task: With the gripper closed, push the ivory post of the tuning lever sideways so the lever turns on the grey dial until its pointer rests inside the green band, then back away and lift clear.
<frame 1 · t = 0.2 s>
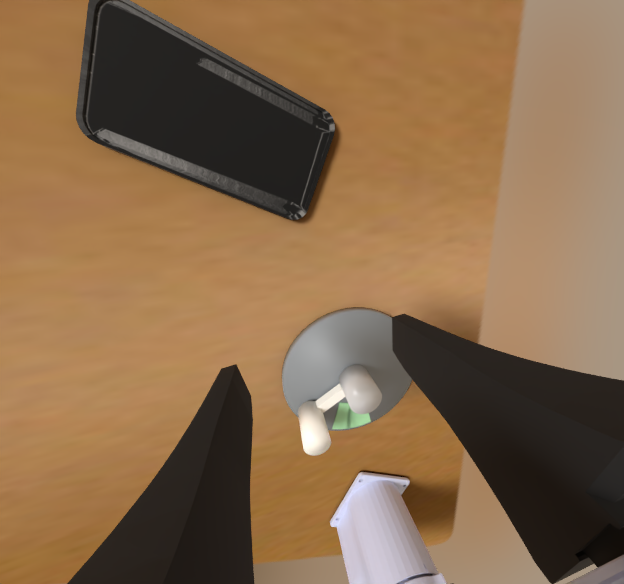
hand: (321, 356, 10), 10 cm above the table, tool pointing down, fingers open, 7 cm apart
dial plate: (349, 369, 24), on the table
tuning lever: (338, 407, 21), point 3 cm above the table, hinge at 0.0°
phone: (221, 131, 16), on the table
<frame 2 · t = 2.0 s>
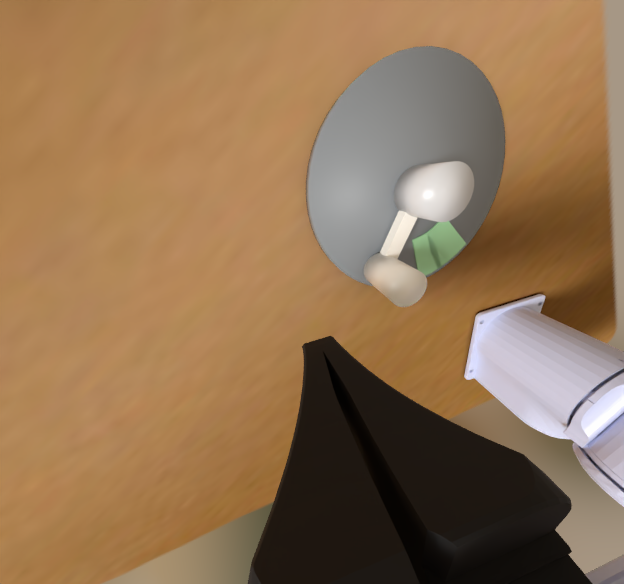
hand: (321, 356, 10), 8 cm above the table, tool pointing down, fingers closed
dial plate: (403, 190, 16), on the table
tuning lever: (413, 235, 14), point 3 cm above the table, hinge at 0.0°
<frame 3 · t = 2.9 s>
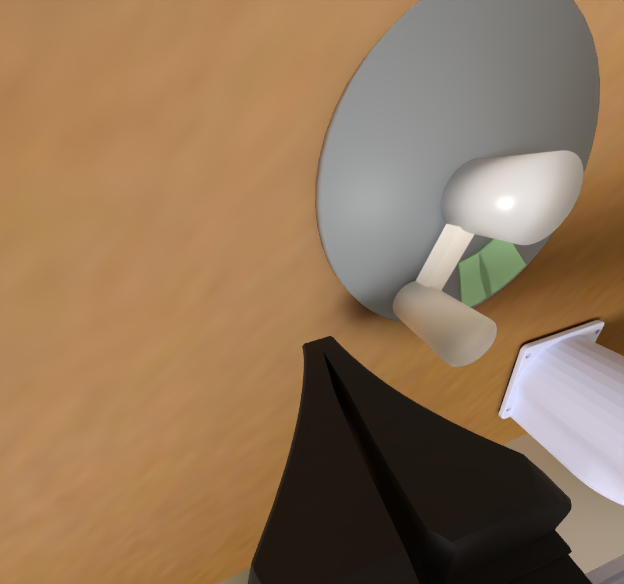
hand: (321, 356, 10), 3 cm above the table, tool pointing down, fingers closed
dial plate: (448, 195, 12), on the table
tuning lever: (472, 261, 10), point 3 cm above the table, hinge at 0.0°
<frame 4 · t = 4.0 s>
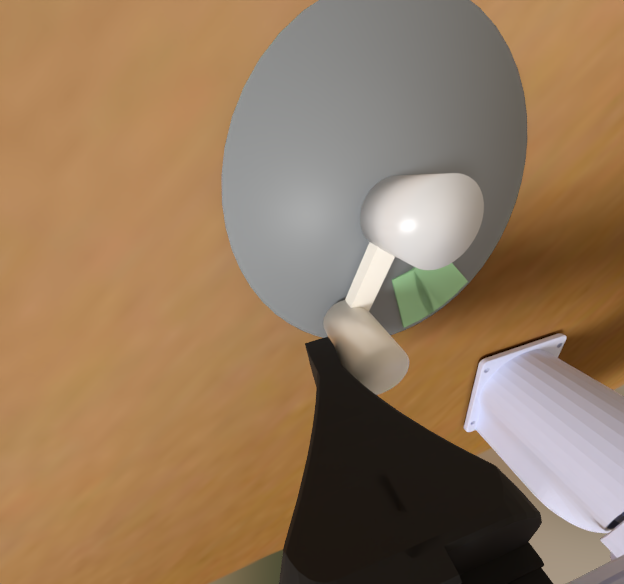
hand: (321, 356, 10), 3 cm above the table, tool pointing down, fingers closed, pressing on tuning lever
dial plate: (377, 210, 11), on the table
tuning lever: (388, 284, 9), point 3 cm above the table, hinge at 0.6°, touching gripper
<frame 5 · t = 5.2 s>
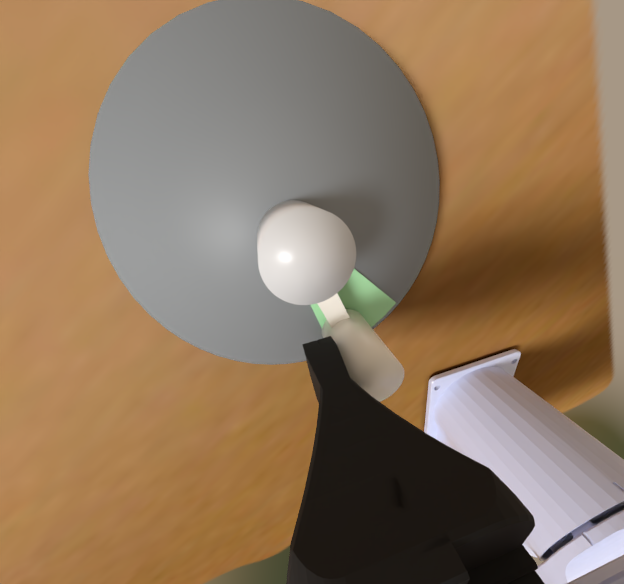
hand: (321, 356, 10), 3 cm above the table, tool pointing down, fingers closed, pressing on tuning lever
dial plate: (289, 232, 11), on the table
tuning lever: (332, 305, 9), point 3 cm above the table, hinge at 46.6°, touching gripper
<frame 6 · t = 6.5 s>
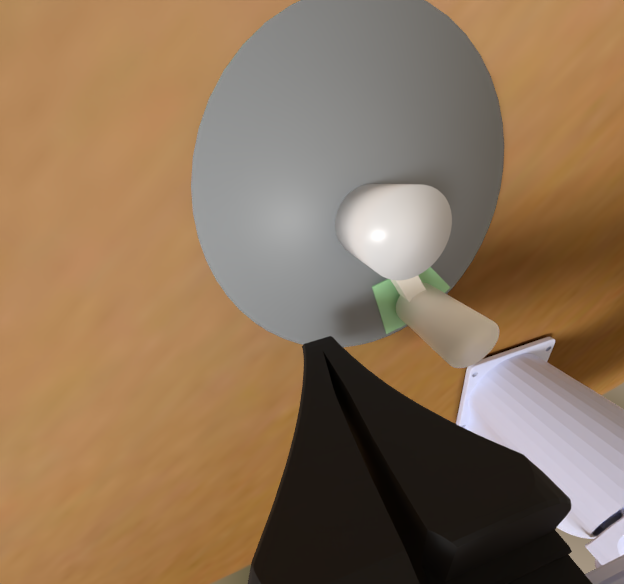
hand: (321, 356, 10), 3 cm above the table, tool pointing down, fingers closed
dial plate: (356, 217, 11), on the table
tuning lever: (417, 279, 9), point 3 cm above the table, hinge at 56.6°
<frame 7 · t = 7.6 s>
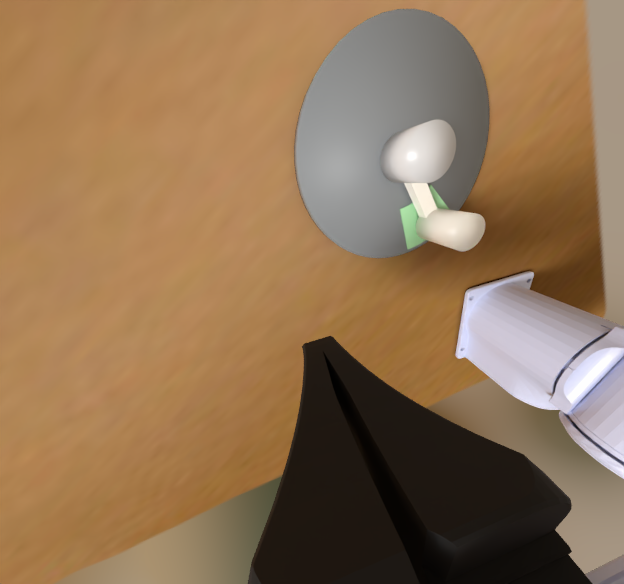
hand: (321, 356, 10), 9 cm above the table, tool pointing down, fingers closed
dial plate: (390, 159, 16), on the table
tuning lever: (433, 192, 15), point 3 cm above the table, hinge at 56.7°
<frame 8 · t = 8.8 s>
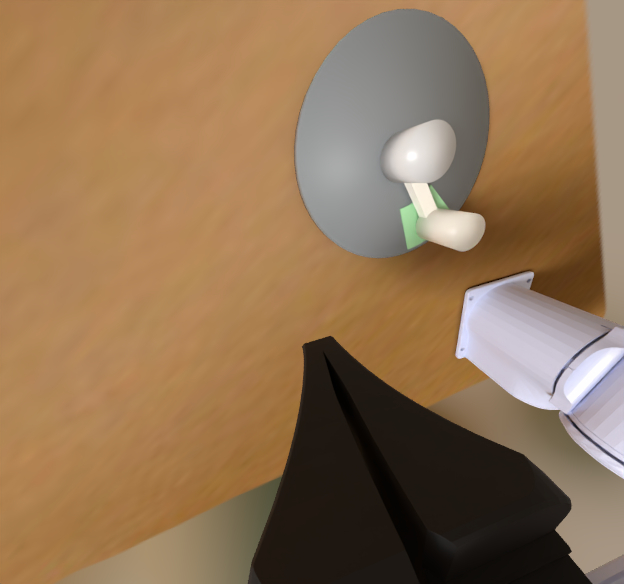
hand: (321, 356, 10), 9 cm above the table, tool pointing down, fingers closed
dial plate: (390, 159, 16), on the table
tuning lever: (433, 192, 15), point 3 cm above the table, hinge at 56.7°
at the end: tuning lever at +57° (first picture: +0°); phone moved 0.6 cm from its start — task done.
